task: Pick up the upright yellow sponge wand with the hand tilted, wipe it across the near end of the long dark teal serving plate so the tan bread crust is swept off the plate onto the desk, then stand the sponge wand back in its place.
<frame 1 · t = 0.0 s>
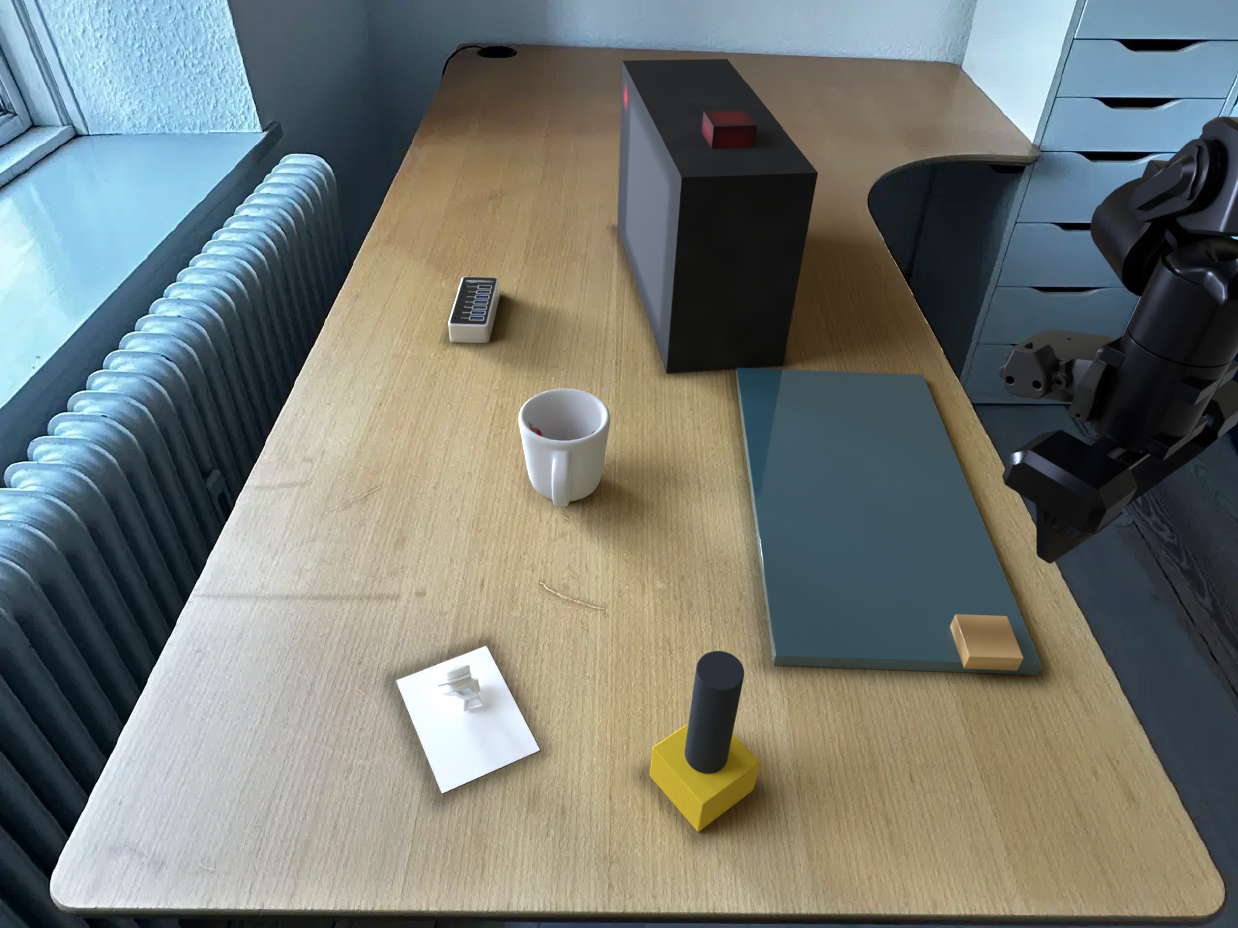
hand: (1081, 530, 62), 12 cm above the table, tool pointing down, fingers open, 9 cm apart
sponge wand: (701, 782, 60), on the table
plate: (859, 499, 82), on the table
cup: (564, 494, 81), on the table
speaker: (699, 290, 111), on the table
multiport hub: (476, 318, 104), on the table
adhesive hook: (465, 715, 64), on the table
crumb: (982, 648, 68), point 1 cm above the table, touching plate
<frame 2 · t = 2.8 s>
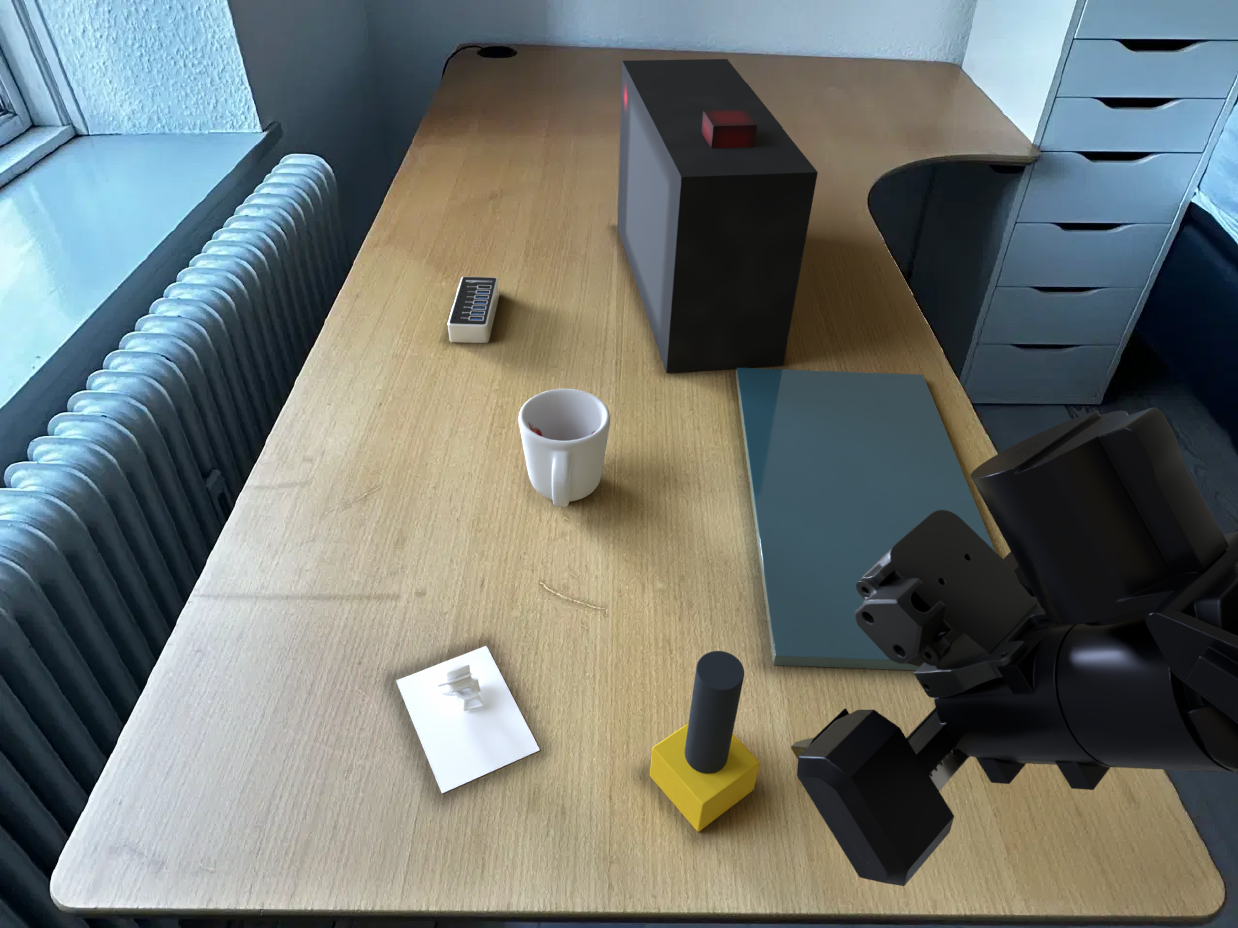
hand: (851, 700, 49), 14 cm above the table, tool tilted 40°, fingers open, 9 cm apart
nothing on the table moved.
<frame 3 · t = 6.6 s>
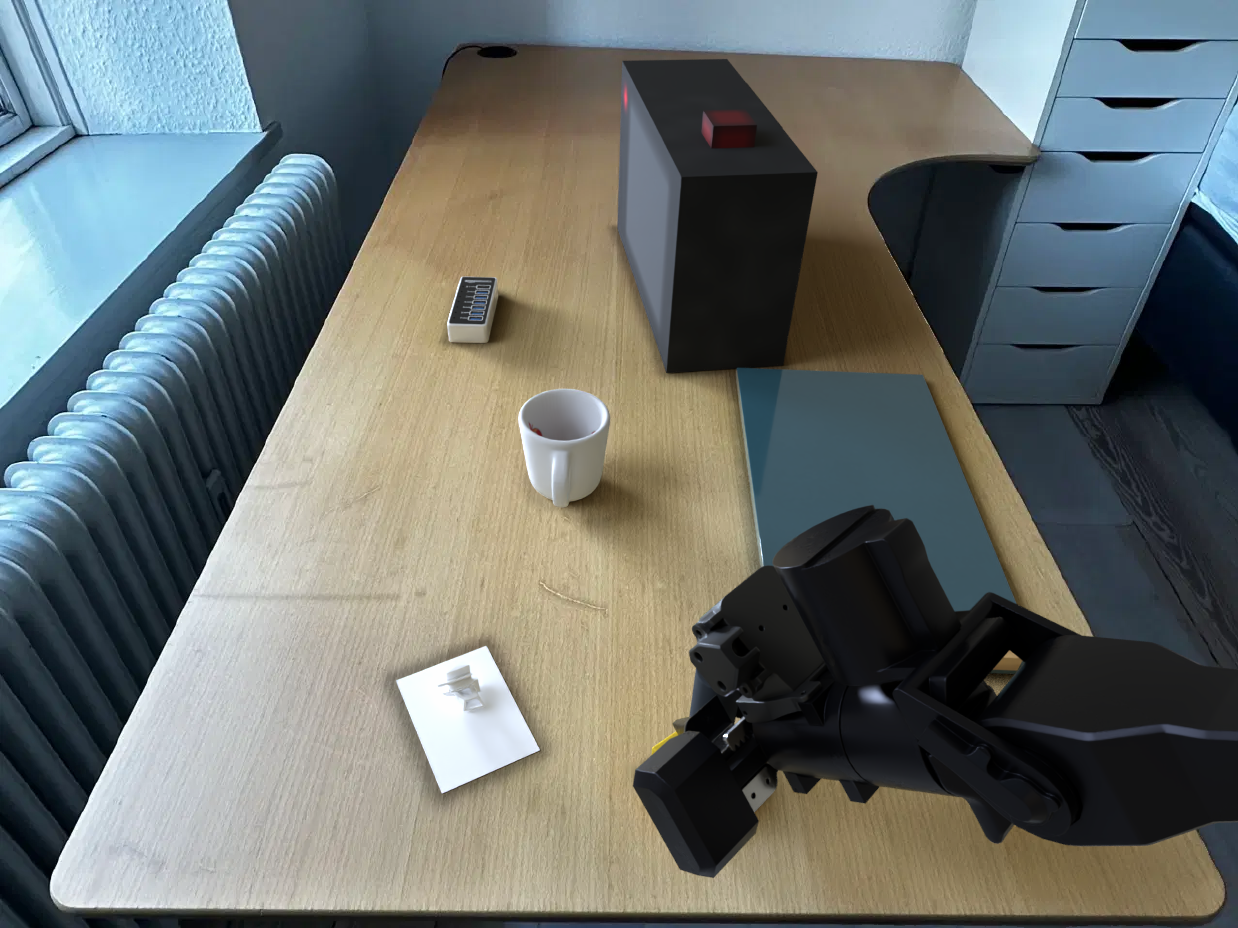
hand: (694, 713, 56), 7 cm above the table, tool tilted 45°, fingers closed on sponge wand, 3 cm apart
sponge wand: (701, 782, 60), on the table, touching gripper
everything else where it was.
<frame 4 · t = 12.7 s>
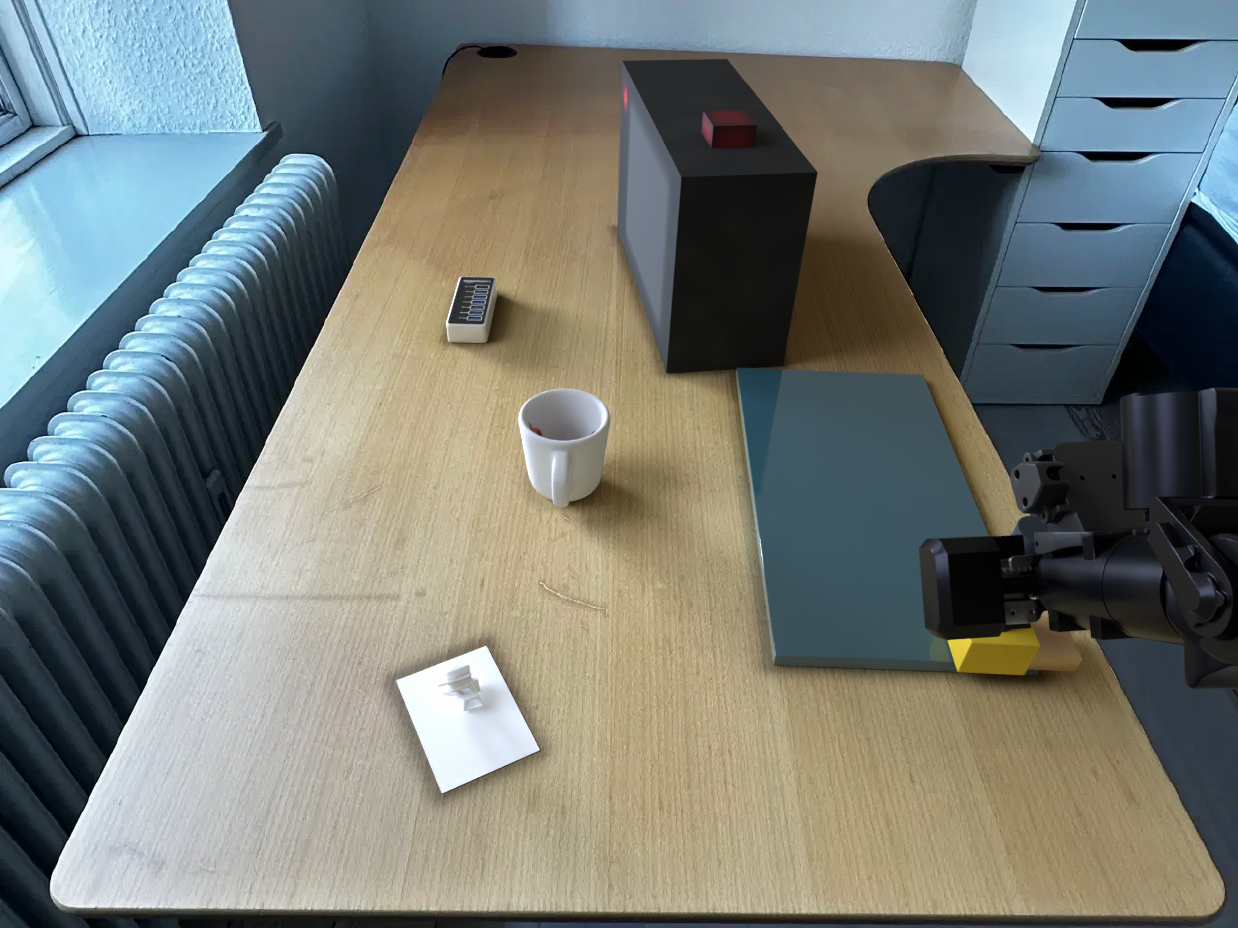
hand: (1002, 574, 64), 8 cm above the table, tool tilted 45°, fingers closed on sponge wand, 3 cm apart
sponge wand: (981, 646, 68), point 1 cm above the table, touching crumb, gripper
crumb: (1039, 648, 68), point 1 cm above the table, touching sponge wand
everything else where it was.
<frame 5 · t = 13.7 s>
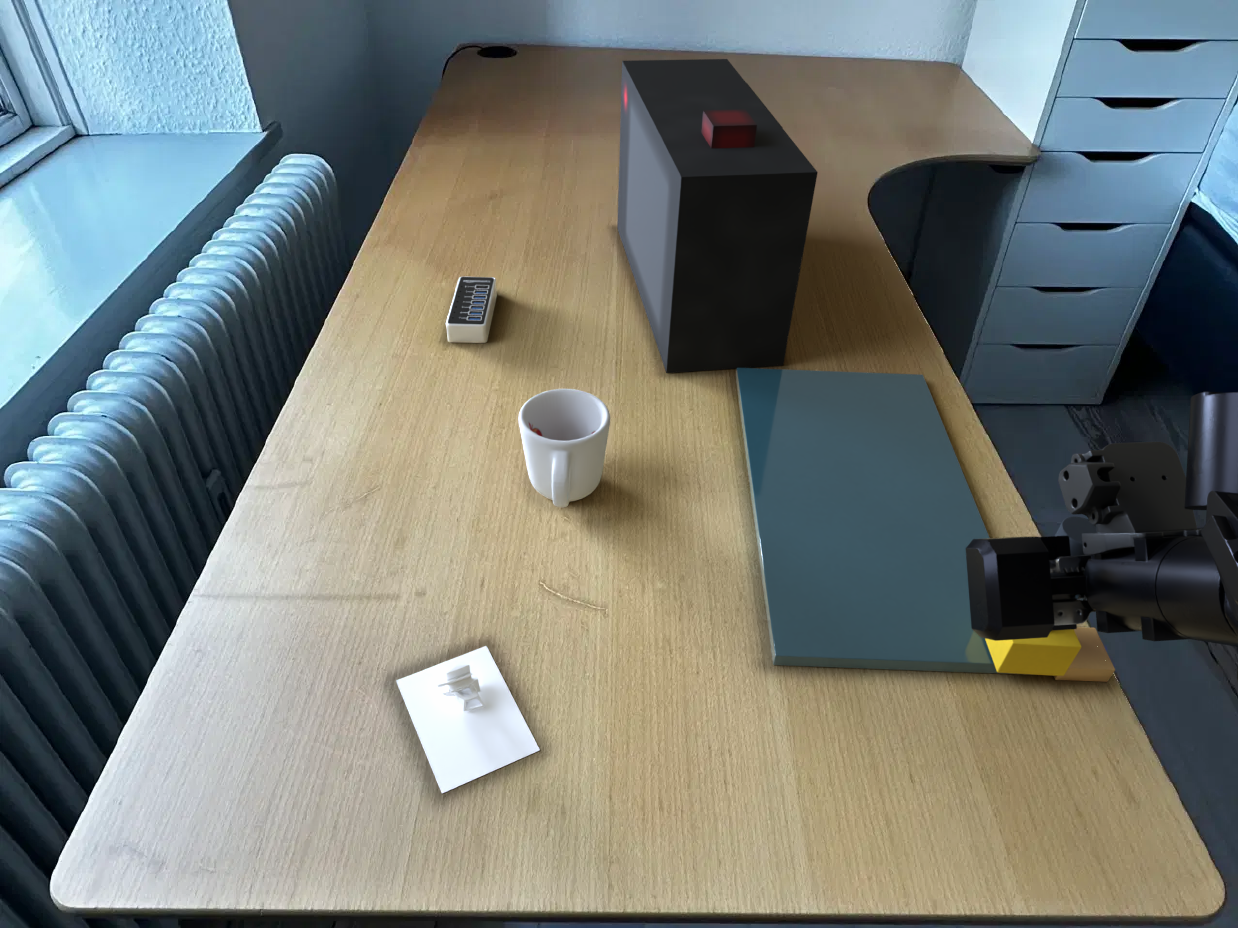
hand: (1043, 575, 64), 8 cm above the table, tool tilted 45°, fingers closed on sponge wand, 3 cm apart
sponge wand: (1019, 647, 68), point 1 cm above the table, touching crumb, gripper
crumb: (1071, 659, 69), on the table, touching sponge wand
everything else where it was.
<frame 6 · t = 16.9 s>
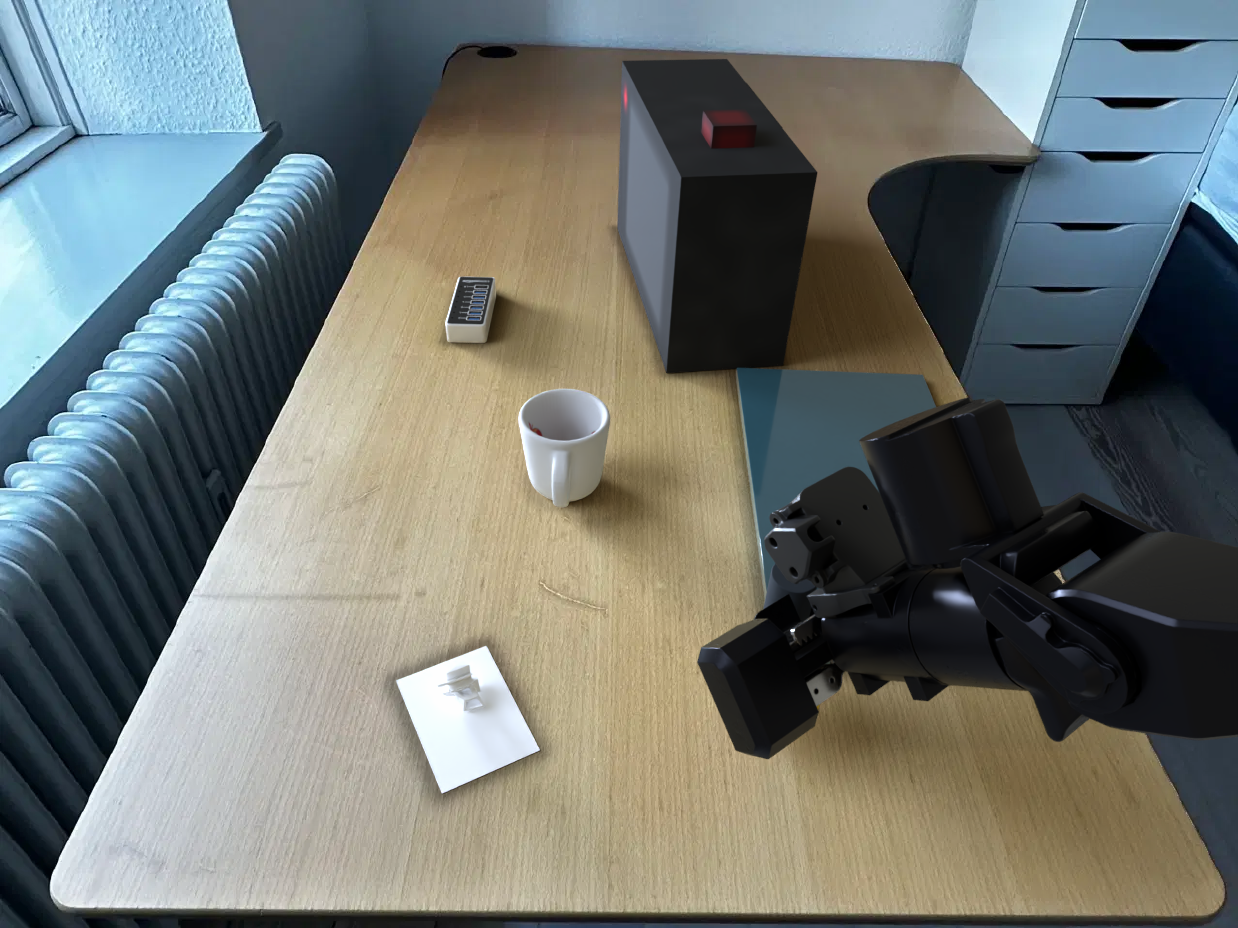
hand: (765, 625, 57), 10 cm above the table, tool tilted 45°, fingers closed on sponge wand, 3 cm apart
sponge wand: (765, 701, 60), point 4 cm above the table, touching gripper
crumb: (1072, 659, 69), on the table
everything else where it was.
when the fingers open (7 cm above the table, at t = 19.3 s): sponge wand stays where it is, on the table.
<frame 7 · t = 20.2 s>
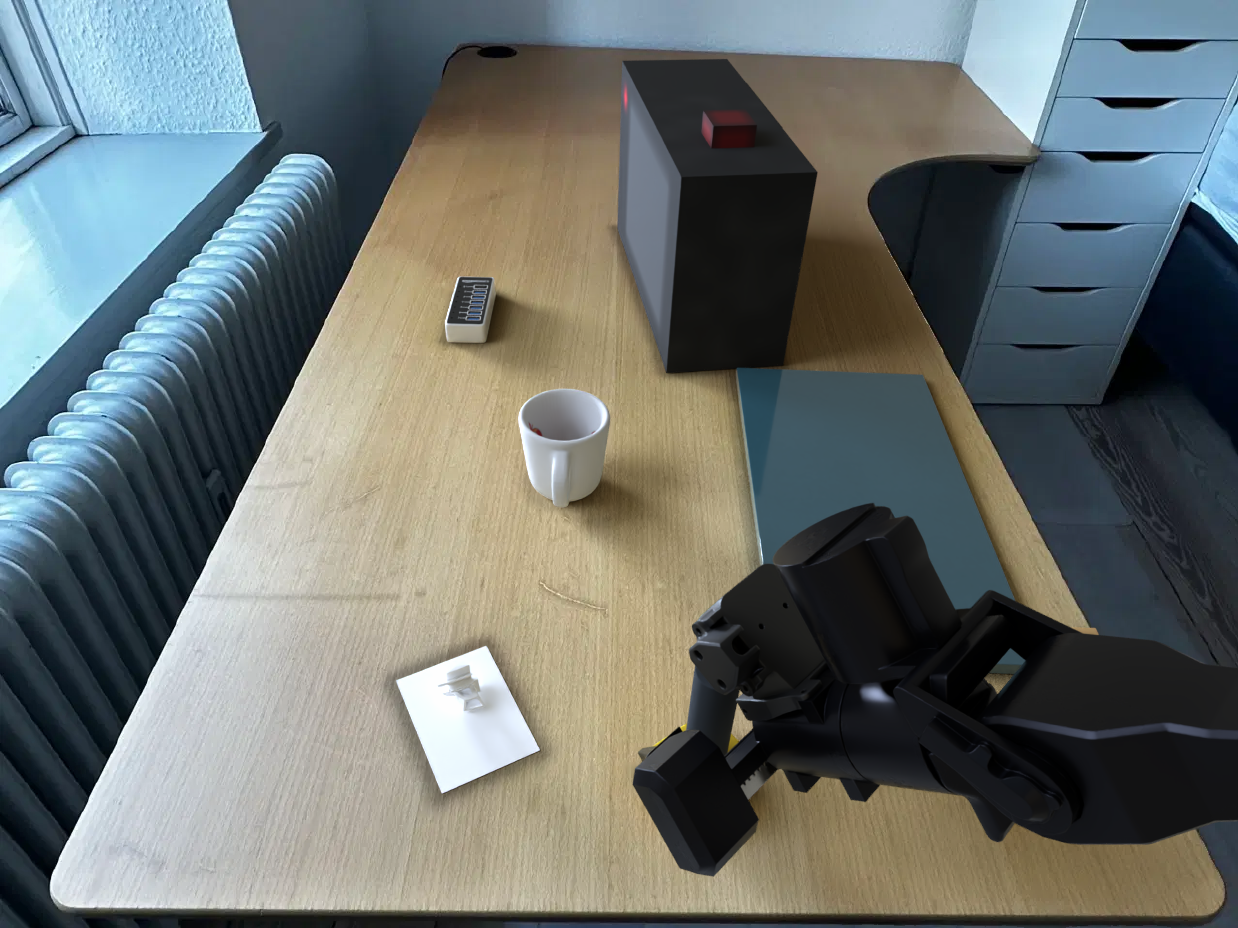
hand: (693, 712, 56), 7 cm above the table, tool tilted 45°, fingers open, 9 cm apart
sponge wand: (699, 782, 60), on the table
everything else where it was.
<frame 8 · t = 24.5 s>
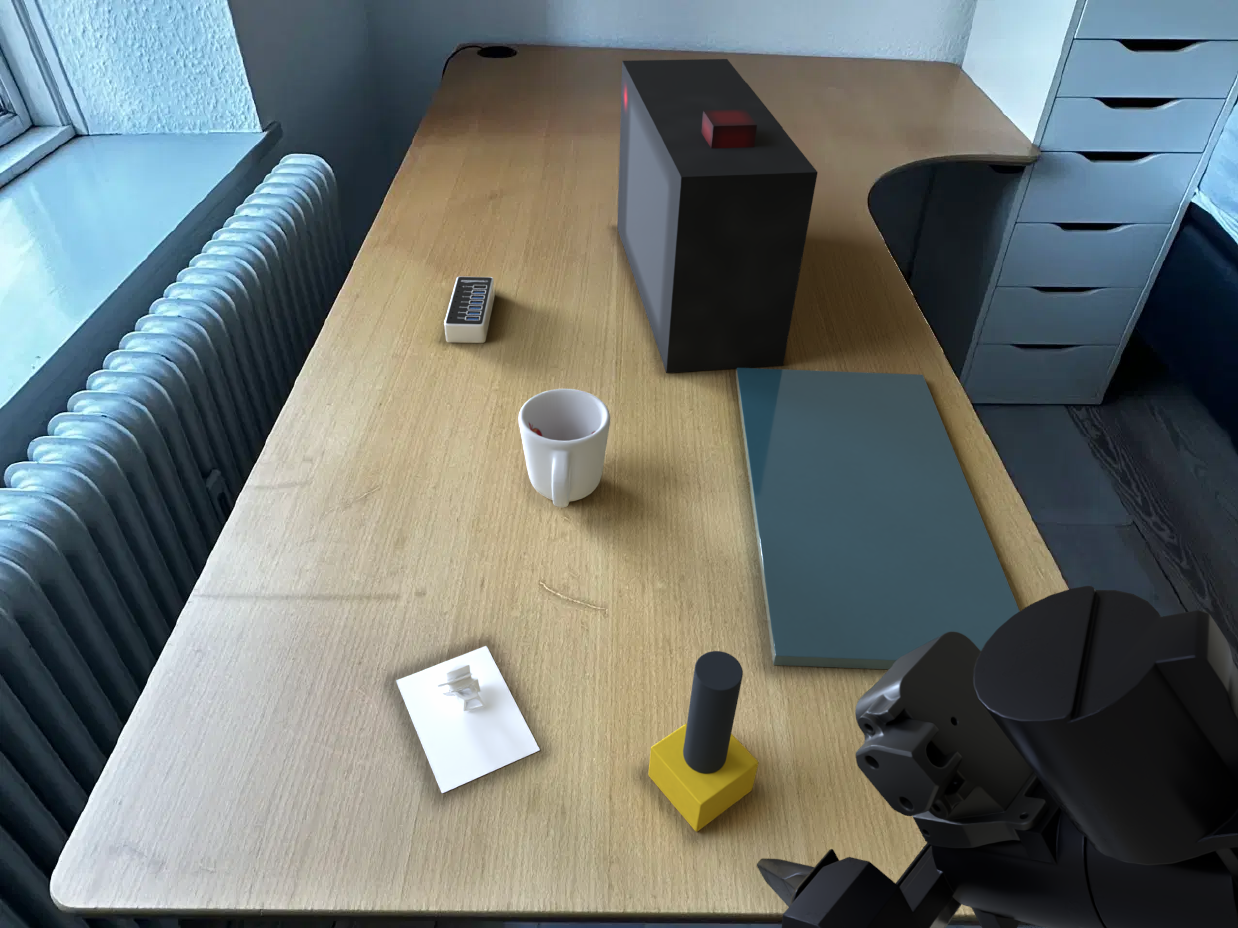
hand: (820, 806, 44), 14 cm above the table, tool tilted 45°, fingers open, 9 cm apart
nothing on the table moved.
at the end: crumb touching table; crumb inside the target area (0.6 cm from its centre), on the table; sponge wand tilted 0° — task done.
